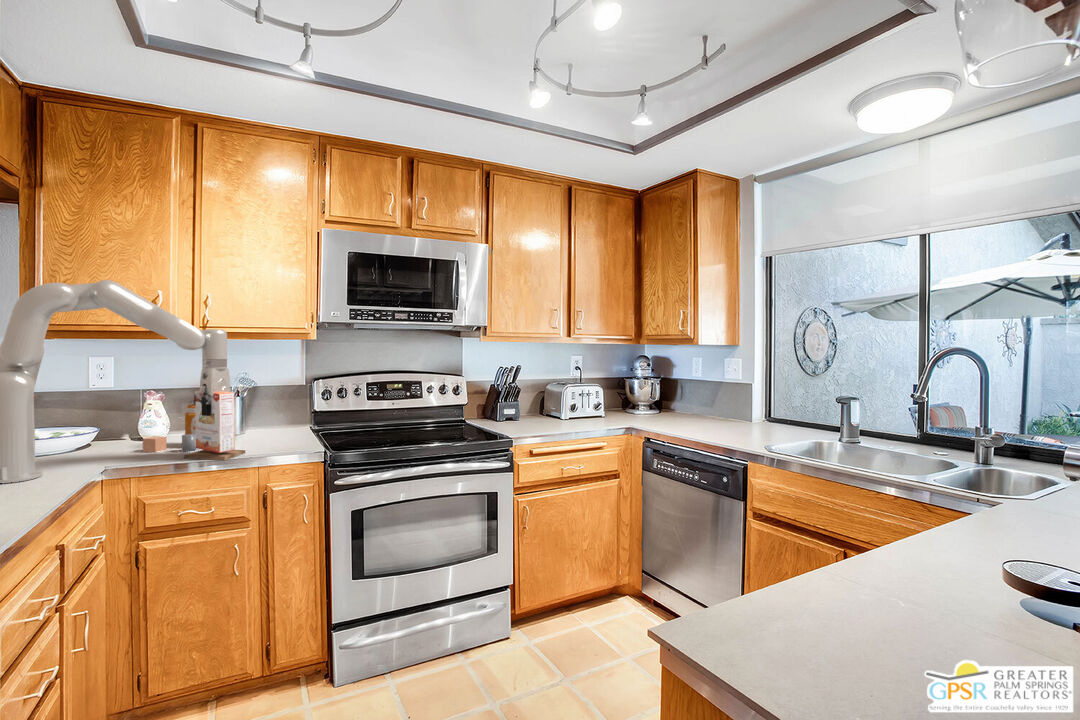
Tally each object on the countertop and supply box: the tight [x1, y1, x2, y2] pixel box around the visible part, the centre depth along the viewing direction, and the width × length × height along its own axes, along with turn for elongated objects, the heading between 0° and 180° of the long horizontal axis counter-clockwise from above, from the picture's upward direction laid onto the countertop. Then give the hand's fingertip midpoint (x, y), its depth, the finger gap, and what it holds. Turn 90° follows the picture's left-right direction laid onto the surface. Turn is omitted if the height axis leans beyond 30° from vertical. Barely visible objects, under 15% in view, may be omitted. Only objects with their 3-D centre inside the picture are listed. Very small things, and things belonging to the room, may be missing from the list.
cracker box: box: [195, 390, 236, 453], centre depth 192 cm, size 14×6×21 cm, turn 62°
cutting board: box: [183, 449, 246, 461], centre depth 193 cm, size 11×15×1 cm
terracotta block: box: [142, 435, 167, 453], centre depth 199 cm, size 5×5×5 cm
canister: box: [184, 394, 196, 435], centre depth 210 cm, size 9×11×20 cm
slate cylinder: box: [181, 433, 197, 453], centre depth 200 cm, size 4×4×6 cm
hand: (214, 413), depth 192 cm, fingers closed on cracker box, 7 cm apart
